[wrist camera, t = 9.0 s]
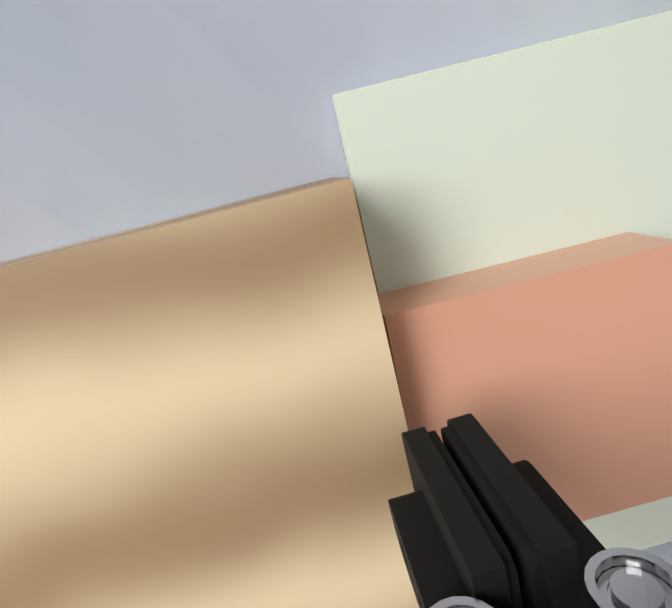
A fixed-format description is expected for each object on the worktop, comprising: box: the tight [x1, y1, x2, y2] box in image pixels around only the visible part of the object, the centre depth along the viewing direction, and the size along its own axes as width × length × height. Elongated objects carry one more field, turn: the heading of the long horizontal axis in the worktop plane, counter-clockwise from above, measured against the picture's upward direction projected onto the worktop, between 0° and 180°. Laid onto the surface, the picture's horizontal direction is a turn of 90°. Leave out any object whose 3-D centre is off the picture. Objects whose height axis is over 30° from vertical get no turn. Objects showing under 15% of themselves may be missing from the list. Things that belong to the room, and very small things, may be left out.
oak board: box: [0, 178, 419, 608], centre depth 13 cm, size 14×16×4 cm
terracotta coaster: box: [377, 232, 672, 521], centre depth 14 cm, size 8×8×2 cm
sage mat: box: [332, 10, 672, 550], centre depth 15 cm, size 18×14×1 cm
